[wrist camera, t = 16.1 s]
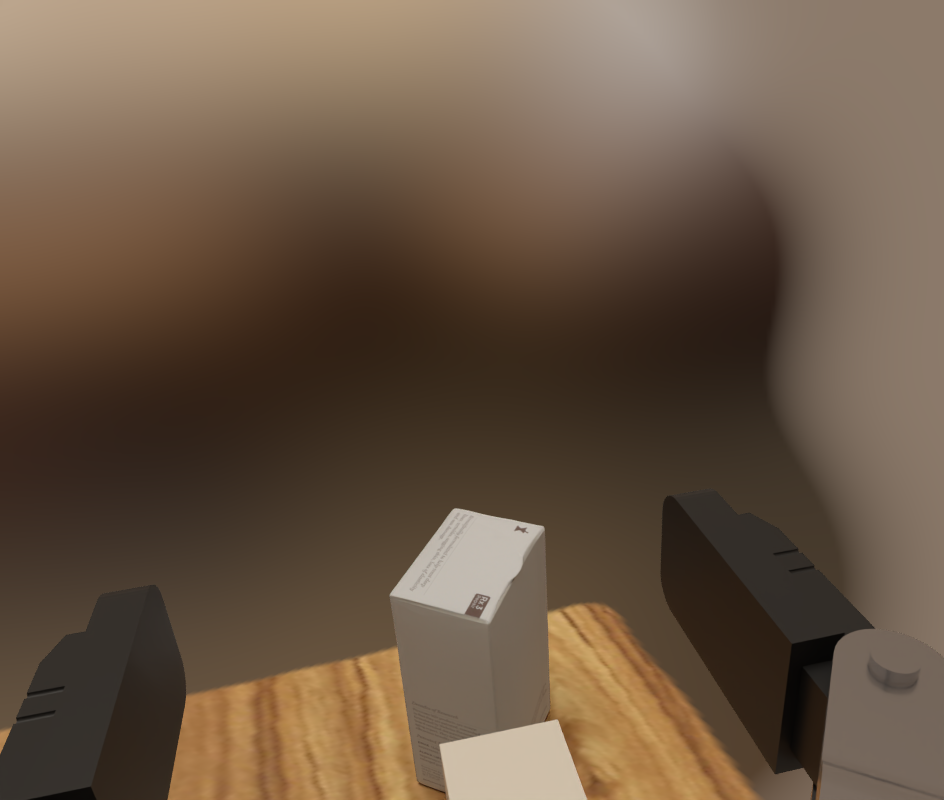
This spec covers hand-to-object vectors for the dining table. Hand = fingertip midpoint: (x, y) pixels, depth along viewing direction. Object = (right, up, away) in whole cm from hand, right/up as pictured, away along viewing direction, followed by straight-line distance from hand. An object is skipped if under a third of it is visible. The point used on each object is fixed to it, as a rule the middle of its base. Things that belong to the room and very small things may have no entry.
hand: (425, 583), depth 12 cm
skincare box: (+2, -19, +36) cm, 40 cm away
